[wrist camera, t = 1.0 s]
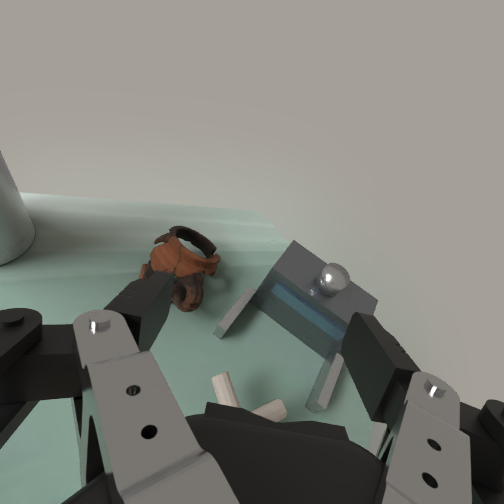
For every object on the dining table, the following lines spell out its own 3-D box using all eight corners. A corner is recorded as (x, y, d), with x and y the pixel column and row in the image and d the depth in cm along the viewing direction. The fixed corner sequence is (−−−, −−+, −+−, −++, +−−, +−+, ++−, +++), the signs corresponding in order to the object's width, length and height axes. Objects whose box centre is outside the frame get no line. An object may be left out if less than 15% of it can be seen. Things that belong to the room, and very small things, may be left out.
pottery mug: (127, 261, 38) (154, 212, 35) (186, 271, 45) (213, 231, 42) (146, 332, 31) (183, 278, 28) (213, 332, 37) (249, 289, 34)
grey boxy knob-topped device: (212, 333, 35) (236, 291, 27) (263, 270, 44) (293, 222, 35) (313, 412, 34) (373, 396, 25) (345, 331, 42) (399, 297, 33)
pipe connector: (247, 370, 34) (279, 344, 27) (283, 464, 30) (333, 465, 22) (164, 404, 30) (173, 384, 22) (191, 521, 25) (215, 547, 17)
